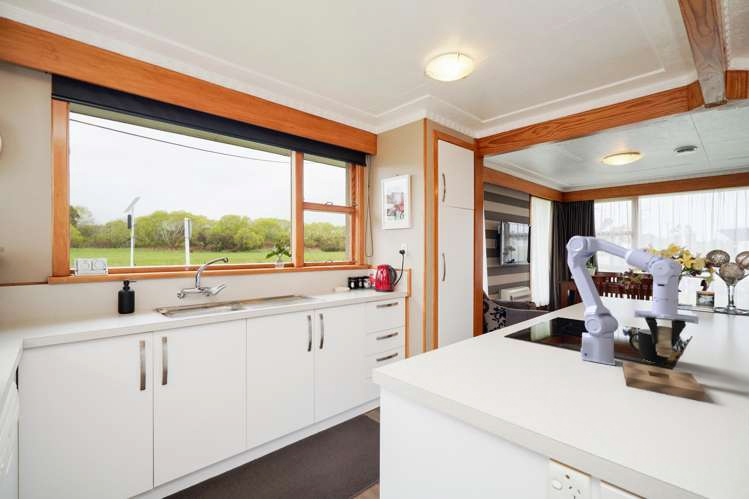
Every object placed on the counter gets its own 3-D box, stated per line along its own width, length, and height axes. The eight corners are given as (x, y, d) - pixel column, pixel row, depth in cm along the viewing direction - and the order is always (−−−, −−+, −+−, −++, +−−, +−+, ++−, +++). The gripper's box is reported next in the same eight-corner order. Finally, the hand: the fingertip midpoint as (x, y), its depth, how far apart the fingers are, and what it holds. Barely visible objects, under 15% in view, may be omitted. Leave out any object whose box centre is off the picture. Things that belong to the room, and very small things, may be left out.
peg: (656, 355, 99) (657, 327, 99) (654, 352, 102) (655, 325, 102) (672, 358, 97) (673, 329, 97) (670, 355, 100) (671, 327, 100)
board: (626, 385, 93) (626, 377, 93) (623, 369, 107) (623, 361, 107) (704, 401, 84) (705, 392, 84) (690, 381, 98) (690, 373, 98)
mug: (675, 363, 114) (676, 334, 114) (662, 367, 110) (663, 336, 110) (635, 353, 124) (636, 326, 124) (622, 356, 120) (623, 328, 120)
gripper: (635, 298, 100) (634, 342, 100) (702, 303, 92) (700, 352, 92) (633, 295, 106) (632, 337, 106) (695, 300, 98) (694, 346, 98)
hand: (663, 344), depth 99 cm, fingers closed on peg, 4 cm apart
